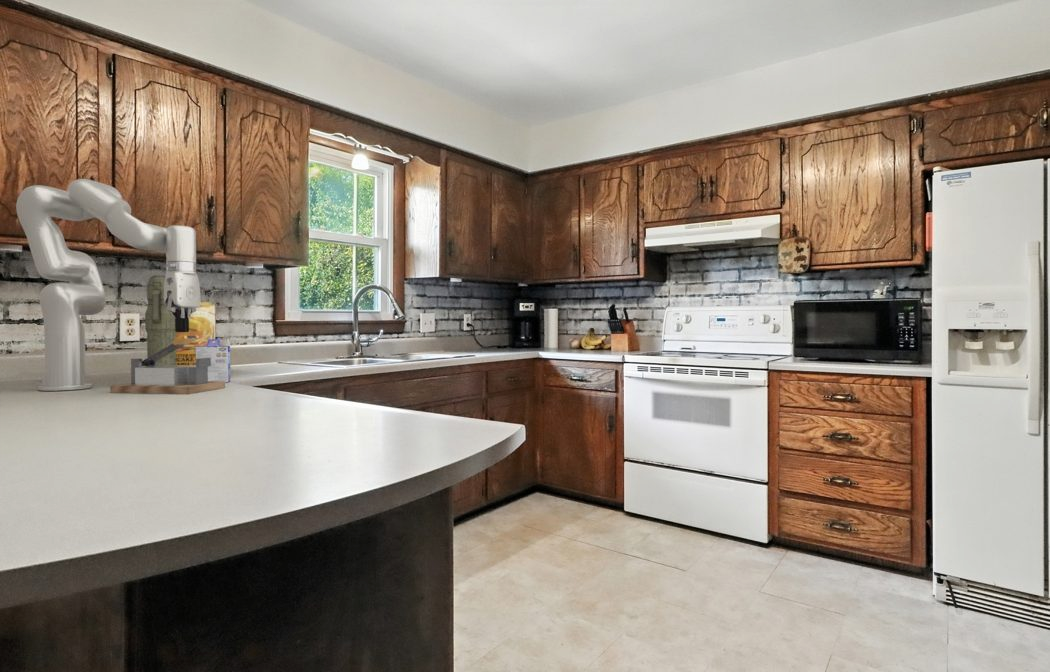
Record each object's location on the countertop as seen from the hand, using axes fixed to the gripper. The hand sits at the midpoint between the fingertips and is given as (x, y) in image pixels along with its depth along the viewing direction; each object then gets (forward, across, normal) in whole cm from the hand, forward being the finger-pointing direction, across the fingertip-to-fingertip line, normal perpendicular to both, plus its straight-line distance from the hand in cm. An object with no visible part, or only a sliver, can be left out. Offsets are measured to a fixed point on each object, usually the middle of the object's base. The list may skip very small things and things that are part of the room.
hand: (182, 331), depth 171 cm
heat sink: (+15, 0, +4) cm, 16 cm away
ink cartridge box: (+17, +24, +7) cm, 30 cm away
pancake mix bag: (+17, +32, +23) cm, 43 cm away
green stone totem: (+17, +18, +21) cm, 33 cm away
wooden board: (+17, 0, +4) cm, 18 cm away
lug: (+15, 0, -5) cm, 16 cm away
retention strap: (+6, 0, +5) cm, 8 cm away
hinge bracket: (+15, 0, +12) cm, 19 cm away
